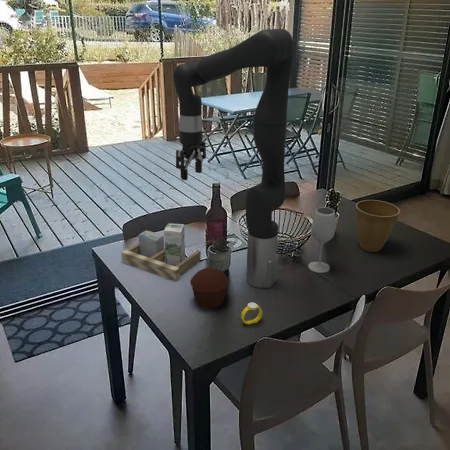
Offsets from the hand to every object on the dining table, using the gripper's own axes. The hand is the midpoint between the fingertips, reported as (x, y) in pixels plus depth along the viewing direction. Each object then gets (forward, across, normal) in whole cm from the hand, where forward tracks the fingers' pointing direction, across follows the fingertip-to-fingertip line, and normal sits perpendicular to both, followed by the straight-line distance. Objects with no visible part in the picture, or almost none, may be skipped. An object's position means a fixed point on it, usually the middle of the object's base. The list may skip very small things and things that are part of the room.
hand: (191, 176), depth 163 cm
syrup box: (+28, -12, -1) cm, 31 cm away
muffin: (+28, -24, -22) cm, 43 cm away
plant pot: (+28, +36, -55) cm, 71 cm away
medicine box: (+28, -12, +9) cm, 32 cm away
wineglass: (+28, +12, -43) cm, 53 cm away
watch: (+28, -27, -38) cm, 54 cm away
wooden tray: (+28, -12, +4) cm, 31 cm away
